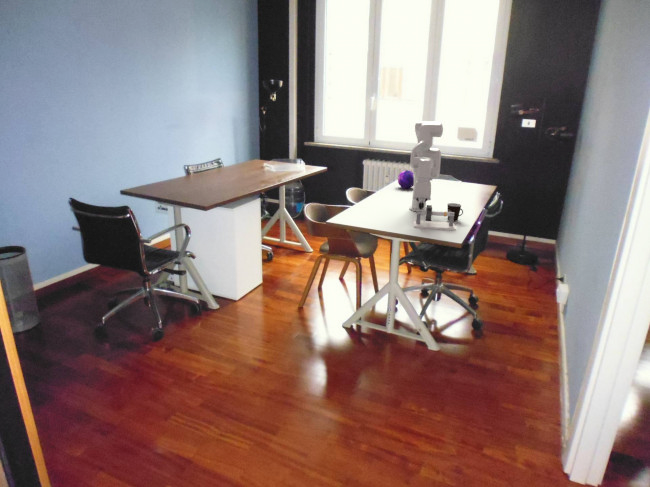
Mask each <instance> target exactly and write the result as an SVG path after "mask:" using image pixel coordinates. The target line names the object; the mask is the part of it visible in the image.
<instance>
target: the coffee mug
mask: <svg viewBox="0 0 650 487" xmlns="http://www.w3.org/2000/svg"><path fill="white" fill-rule="evenodd" d="M447 212H454V222H457V221H458V220H459V217H461V216H462V215H464V210H463V209H462V204H460V203H454V202H451V203H447ZM460 213H461V214H460ZM449 218H450V216H447V220H448V221H449Z"/></svg>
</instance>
